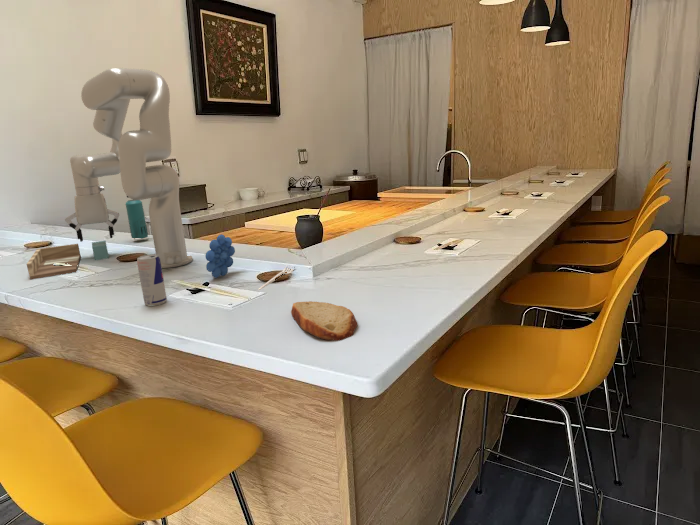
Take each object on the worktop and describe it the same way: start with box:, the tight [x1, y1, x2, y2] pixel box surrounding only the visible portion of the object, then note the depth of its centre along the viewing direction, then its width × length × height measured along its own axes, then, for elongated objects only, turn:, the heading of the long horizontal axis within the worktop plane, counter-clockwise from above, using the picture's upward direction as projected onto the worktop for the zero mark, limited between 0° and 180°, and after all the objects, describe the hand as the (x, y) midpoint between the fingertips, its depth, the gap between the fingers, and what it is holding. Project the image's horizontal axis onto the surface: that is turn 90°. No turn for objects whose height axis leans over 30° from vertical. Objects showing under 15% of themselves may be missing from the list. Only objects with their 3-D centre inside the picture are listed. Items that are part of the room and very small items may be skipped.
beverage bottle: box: [124, 195, 149, 239], centre depth 206 cm, size 6×7×20 cm
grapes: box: [205, 234, 236, 279], centre depth 149 cm, size 12×7×12 cm, turn 152°
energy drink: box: [136, 253, 168, 306], centre depth 129 cm, size 5×5×12 cm
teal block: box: [91, 240, 110, 261], centre depth 185 cm, size 9×4×5 cm, turn 26°
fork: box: [257, 266, 294, 290], centre depth 144 cm, size 3×20×2 cm, turn 160°
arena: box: [26, 243, 82, 280], centre depth 174 cm, size 24×13×5 cm, turn 24°
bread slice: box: [290, 300, 358, 342], centre depth 110 cm, size 18×18×4 cm
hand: (96, 239), depth 184 cm, fingers open, 9 cm apart
